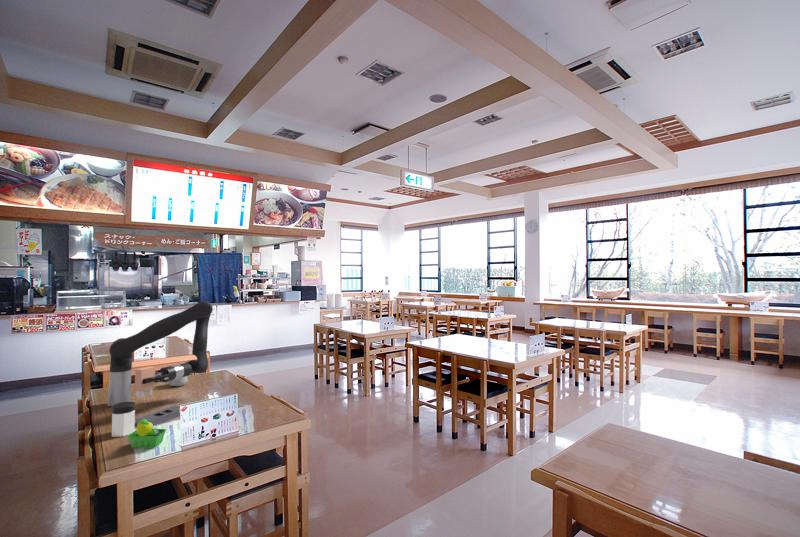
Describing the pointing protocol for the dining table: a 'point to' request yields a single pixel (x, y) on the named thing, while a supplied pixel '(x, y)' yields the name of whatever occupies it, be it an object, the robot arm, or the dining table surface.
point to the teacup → (178, 381)
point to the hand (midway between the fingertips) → (139, 381)
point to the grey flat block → (161, 415)
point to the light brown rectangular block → (139, 376)
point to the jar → (123, 419)
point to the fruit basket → (146, 435)
